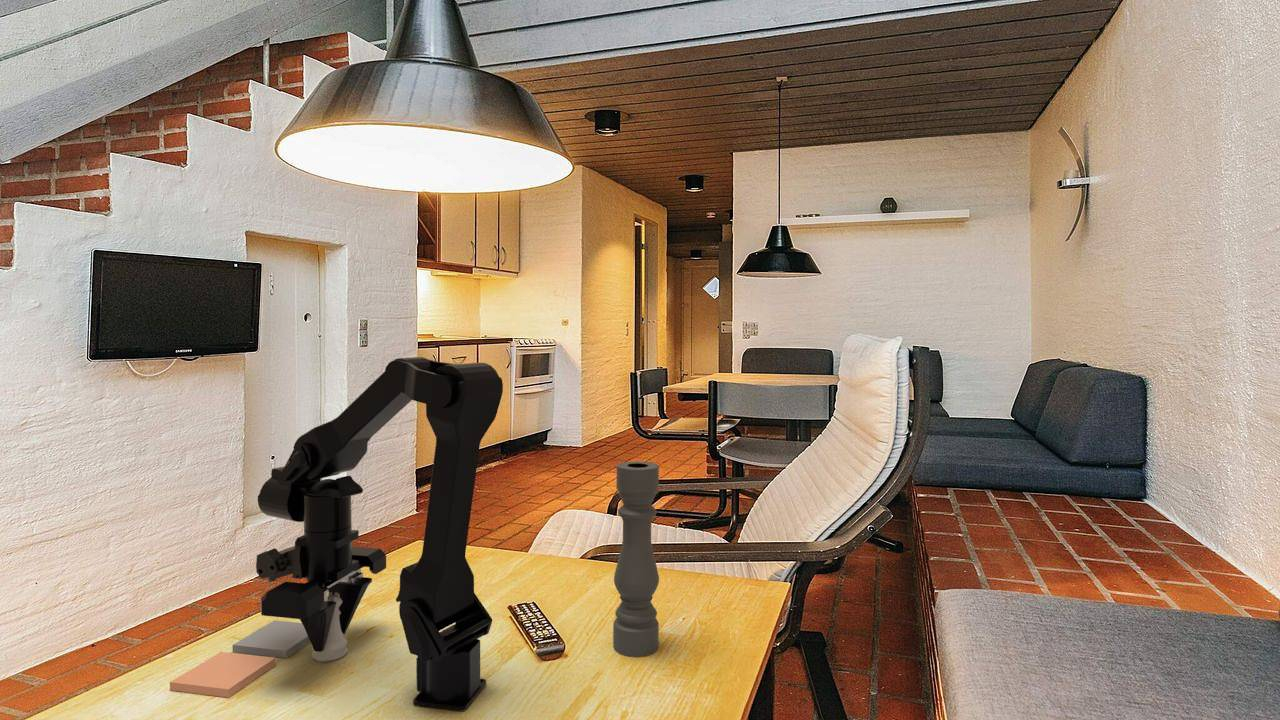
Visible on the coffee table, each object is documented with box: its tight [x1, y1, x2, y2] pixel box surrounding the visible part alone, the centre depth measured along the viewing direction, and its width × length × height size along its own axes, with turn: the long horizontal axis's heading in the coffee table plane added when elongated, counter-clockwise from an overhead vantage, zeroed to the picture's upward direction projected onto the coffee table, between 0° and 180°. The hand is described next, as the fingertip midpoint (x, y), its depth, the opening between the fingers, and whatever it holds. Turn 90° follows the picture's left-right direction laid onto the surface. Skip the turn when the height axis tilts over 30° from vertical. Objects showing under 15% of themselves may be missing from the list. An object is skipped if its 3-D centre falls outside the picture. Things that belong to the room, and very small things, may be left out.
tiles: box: [169, 619, 311, 698], centre depth 93 cm, size 8×18×1 cm, turn 169°
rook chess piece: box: [311, 591, 349, 663], centre depth 94 cm, size 4×4×8 cm
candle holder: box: [612, 460, 660, 658], centre depth 97 cm, size 6×6×25 cm
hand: (329, 643), depth 95 cm, fingers closed on rook chess piece, 4 cm apart
